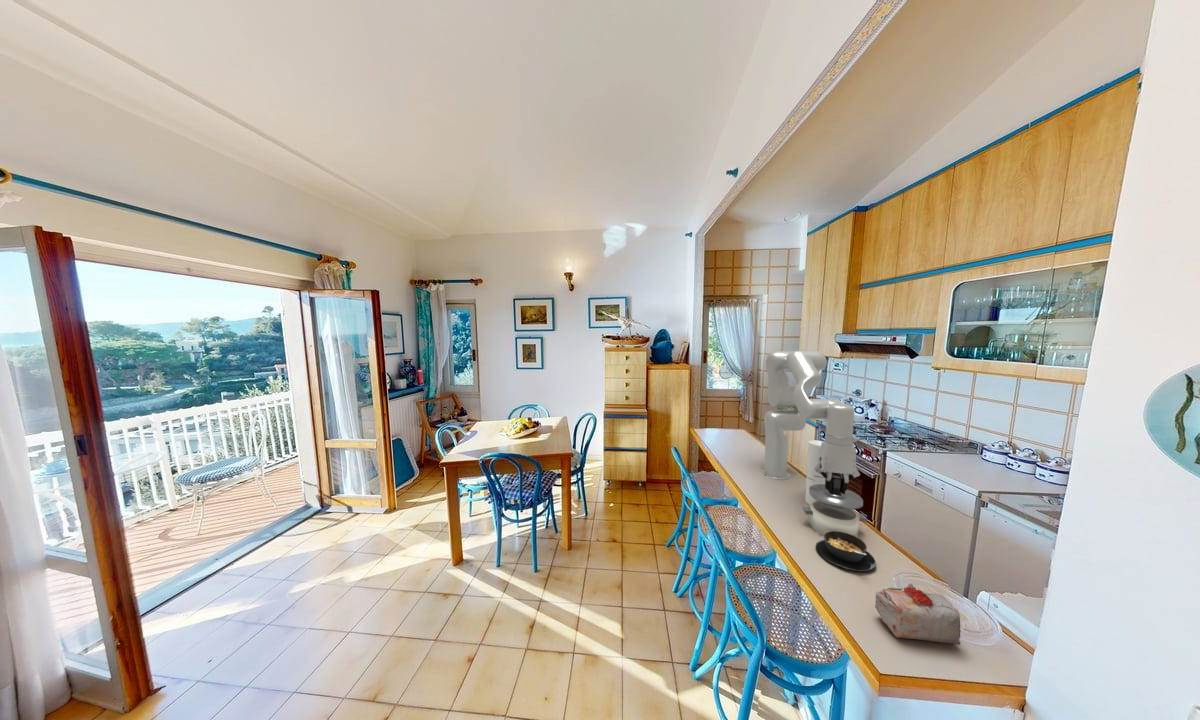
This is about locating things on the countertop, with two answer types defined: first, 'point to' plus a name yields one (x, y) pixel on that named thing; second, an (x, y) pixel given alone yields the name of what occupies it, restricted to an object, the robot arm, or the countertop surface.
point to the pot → (833, 518)
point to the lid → (836, 495)
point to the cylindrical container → (812, 461)
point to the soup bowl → (845, 551)
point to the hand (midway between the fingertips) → (835, 491)
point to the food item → (918, 615)
